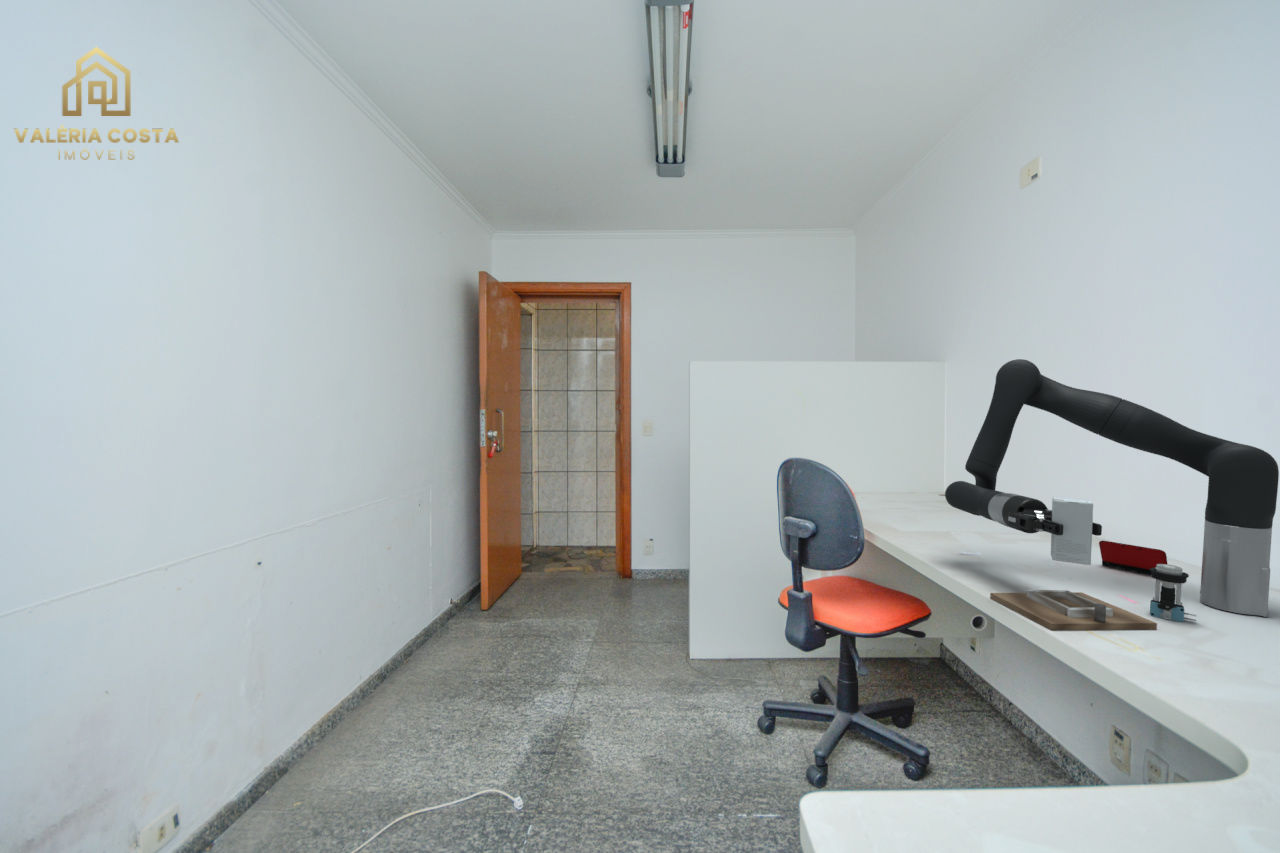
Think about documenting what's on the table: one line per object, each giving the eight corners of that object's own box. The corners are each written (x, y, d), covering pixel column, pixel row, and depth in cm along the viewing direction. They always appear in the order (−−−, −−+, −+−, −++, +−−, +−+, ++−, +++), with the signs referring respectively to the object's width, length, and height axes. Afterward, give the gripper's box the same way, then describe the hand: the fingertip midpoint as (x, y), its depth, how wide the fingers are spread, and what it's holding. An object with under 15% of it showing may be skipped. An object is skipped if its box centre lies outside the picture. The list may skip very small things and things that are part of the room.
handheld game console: (1175, 574, 134) (1177, 544, 133) (1164, 582, 127) (1165, 550, 127) (1110, 561, 144) (1112, 534, 143) (1096, 568, 138) (1098, 539, 137)
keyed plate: (1081, 598, 115) (1082, 578, 115) (1156, 629, 99) (1157, 606, 99) (990, 598, 114) (991, 578, 114) (1051, 630, 98) (1052, 607, 98)
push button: (1194, 619, 104) (1197, 568, 104) (1197, 627, 100) (1200, 574, 100) (1147, 610, 109) (1150, 560, 108) (1147, 617, 105) (1150, 566, 104)
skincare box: (1087, 560, 107) (1091, 499, 106) (1091, 566, 103) (1095, 503, 102) (1048, 555, 110) (1052, 496, 109) (1050, 561, 106) (1054, 499, 105)
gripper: (986, 494, 120) (1045, 510, 103) (1049, 495, 120) (1118, 511, 104) (984, 528, 120) (1043, 549, 104) (1047, 528, 121) (1115, 549, 104)
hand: (1080, 530), depth 104 cm, fingers closed on skincare box, 7 cm apart
